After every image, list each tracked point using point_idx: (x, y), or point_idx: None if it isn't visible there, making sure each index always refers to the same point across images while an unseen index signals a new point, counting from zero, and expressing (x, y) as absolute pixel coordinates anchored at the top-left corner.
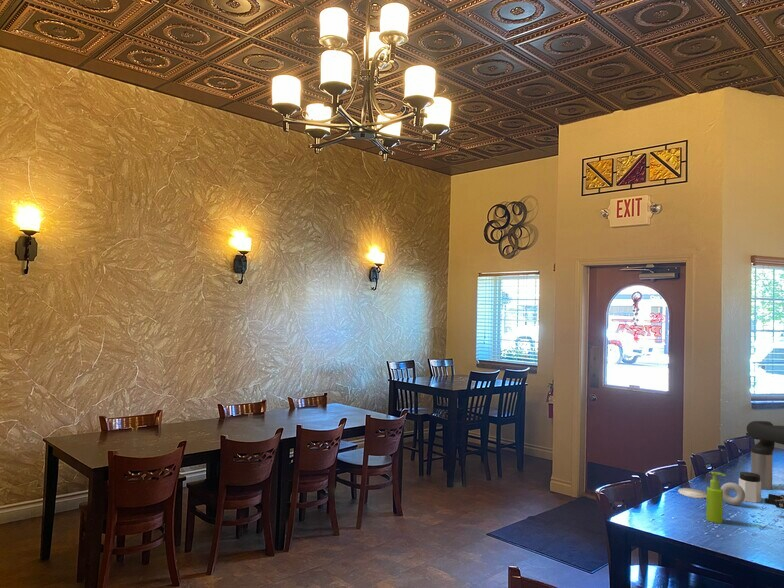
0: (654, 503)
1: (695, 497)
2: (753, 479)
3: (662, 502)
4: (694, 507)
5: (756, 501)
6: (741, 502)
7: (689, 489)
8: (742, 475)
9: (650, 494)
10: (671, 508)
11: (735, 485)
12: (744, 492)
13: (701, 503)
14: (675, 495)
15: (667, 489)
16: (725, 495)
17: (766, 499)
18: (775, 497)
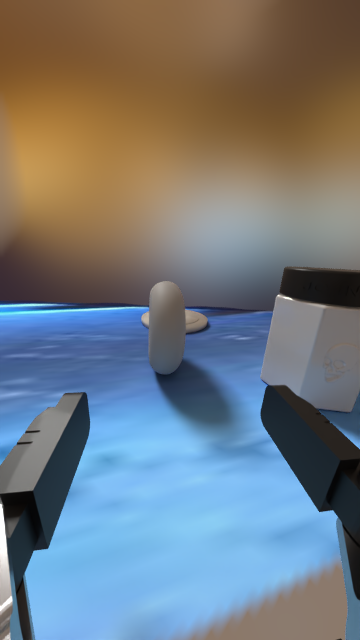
0: (40, 308)
1: (143, 323)
2: (313, 287)
3: (57, 311)
4: (47, 332)
5: None
6: (156, 368)
7: (185, 312)
8: (283, 272)
9: (105, 303)
10: (10, 319)
11: (155, 290)
12: (168, 328)
13: (104, 334)
14: (133, 313)
15: None
16: (149, 328)
17: (49, 410)
18: (304, 451)
